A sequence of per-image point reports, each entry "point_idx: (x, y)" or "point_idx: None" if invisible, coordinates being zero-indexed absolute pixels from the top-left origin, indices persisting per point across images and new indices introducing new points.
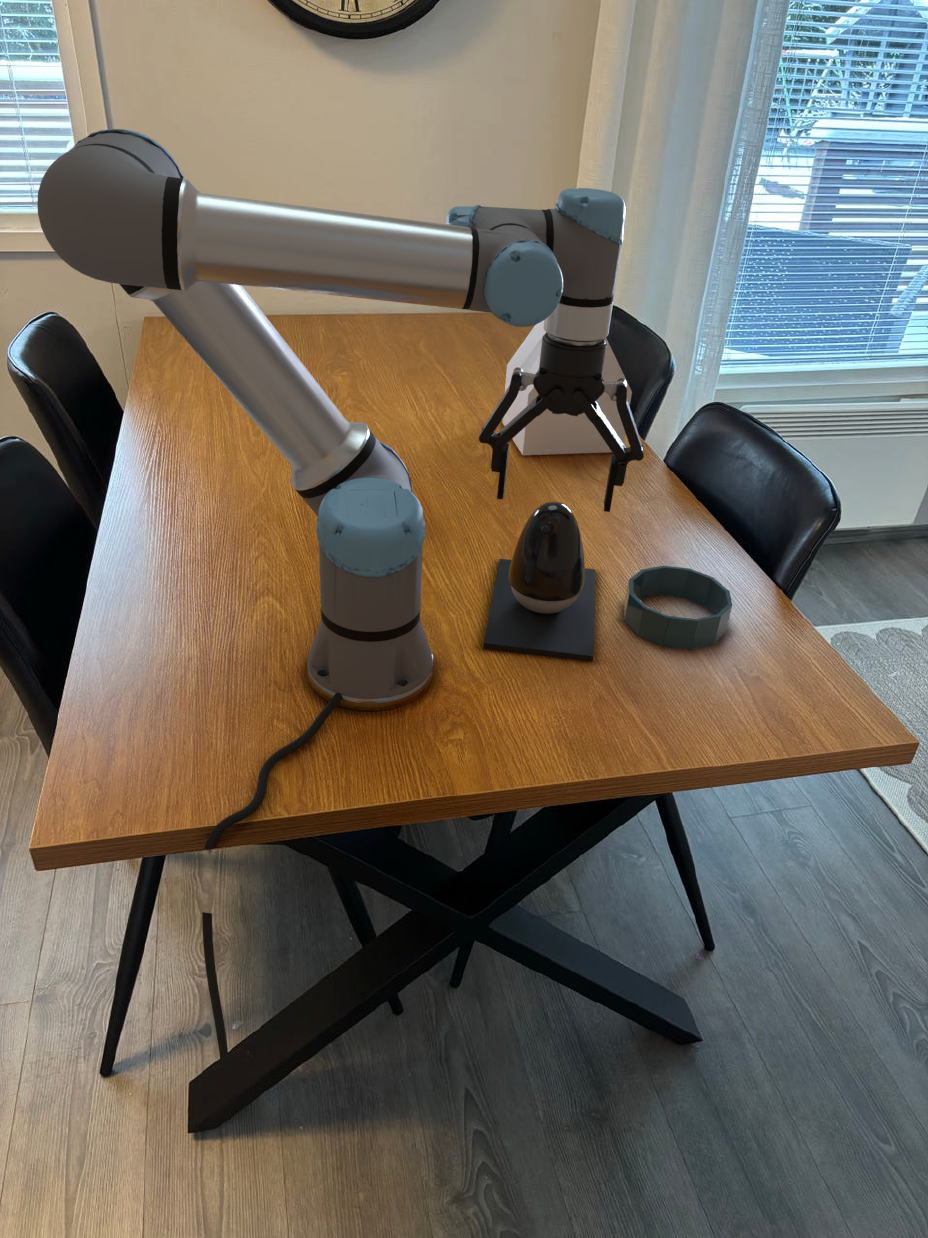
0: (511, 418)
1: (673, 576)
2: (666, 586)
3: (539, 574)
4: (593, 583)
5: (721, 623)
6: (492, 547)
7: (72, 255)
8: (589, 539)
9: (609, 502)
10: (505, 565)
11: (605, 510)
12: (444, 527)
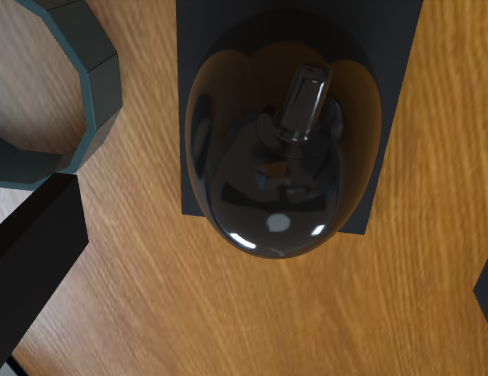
0: None
1: (21, 172)
2: (44, 162)
3: (313, 33)
4: (183, 168)
5: None
6: (370, 275)
7: None
8: (196, 304)
9: (39, 194)
10: (355, 213)
11: (69, 176)
12: (453, 326)
